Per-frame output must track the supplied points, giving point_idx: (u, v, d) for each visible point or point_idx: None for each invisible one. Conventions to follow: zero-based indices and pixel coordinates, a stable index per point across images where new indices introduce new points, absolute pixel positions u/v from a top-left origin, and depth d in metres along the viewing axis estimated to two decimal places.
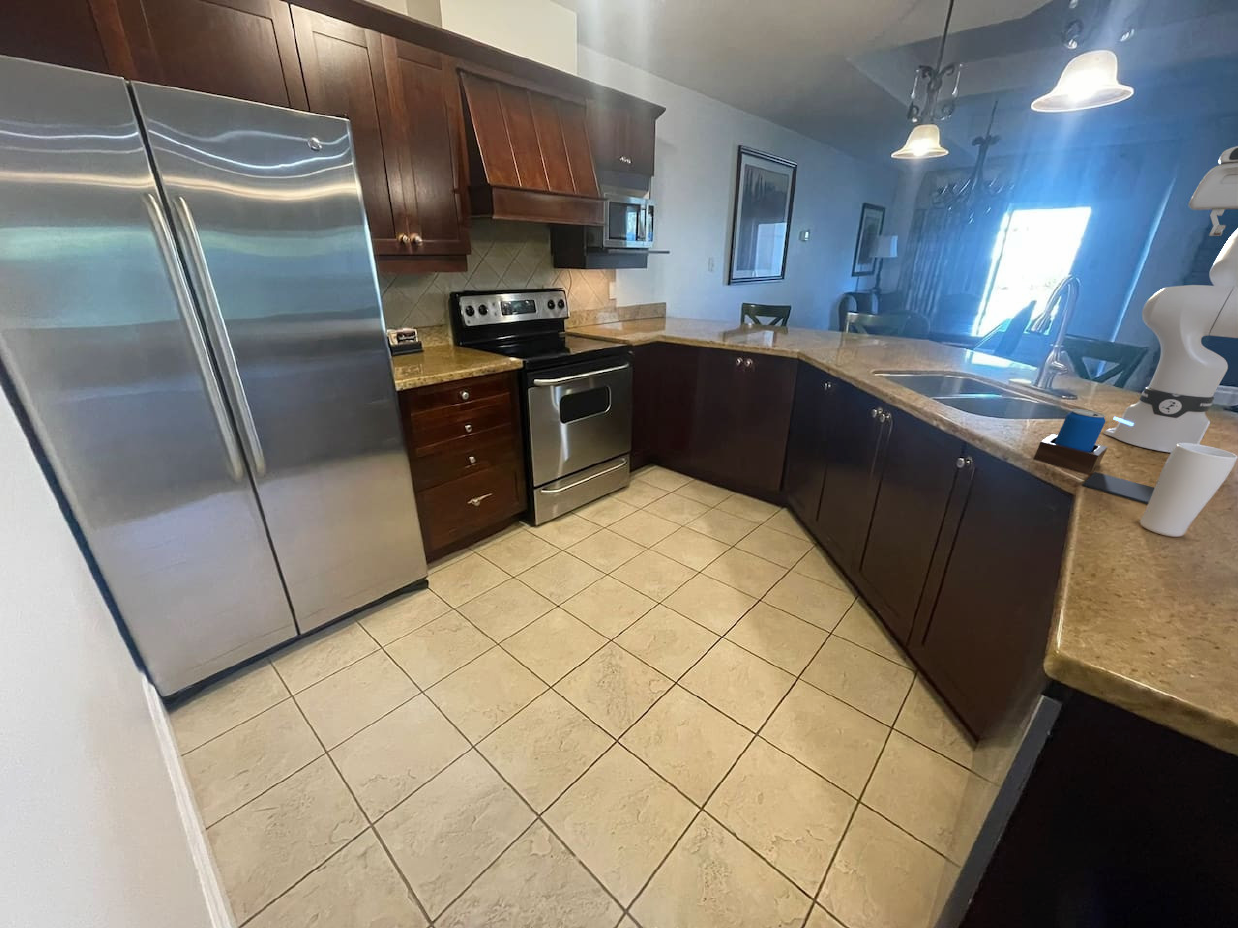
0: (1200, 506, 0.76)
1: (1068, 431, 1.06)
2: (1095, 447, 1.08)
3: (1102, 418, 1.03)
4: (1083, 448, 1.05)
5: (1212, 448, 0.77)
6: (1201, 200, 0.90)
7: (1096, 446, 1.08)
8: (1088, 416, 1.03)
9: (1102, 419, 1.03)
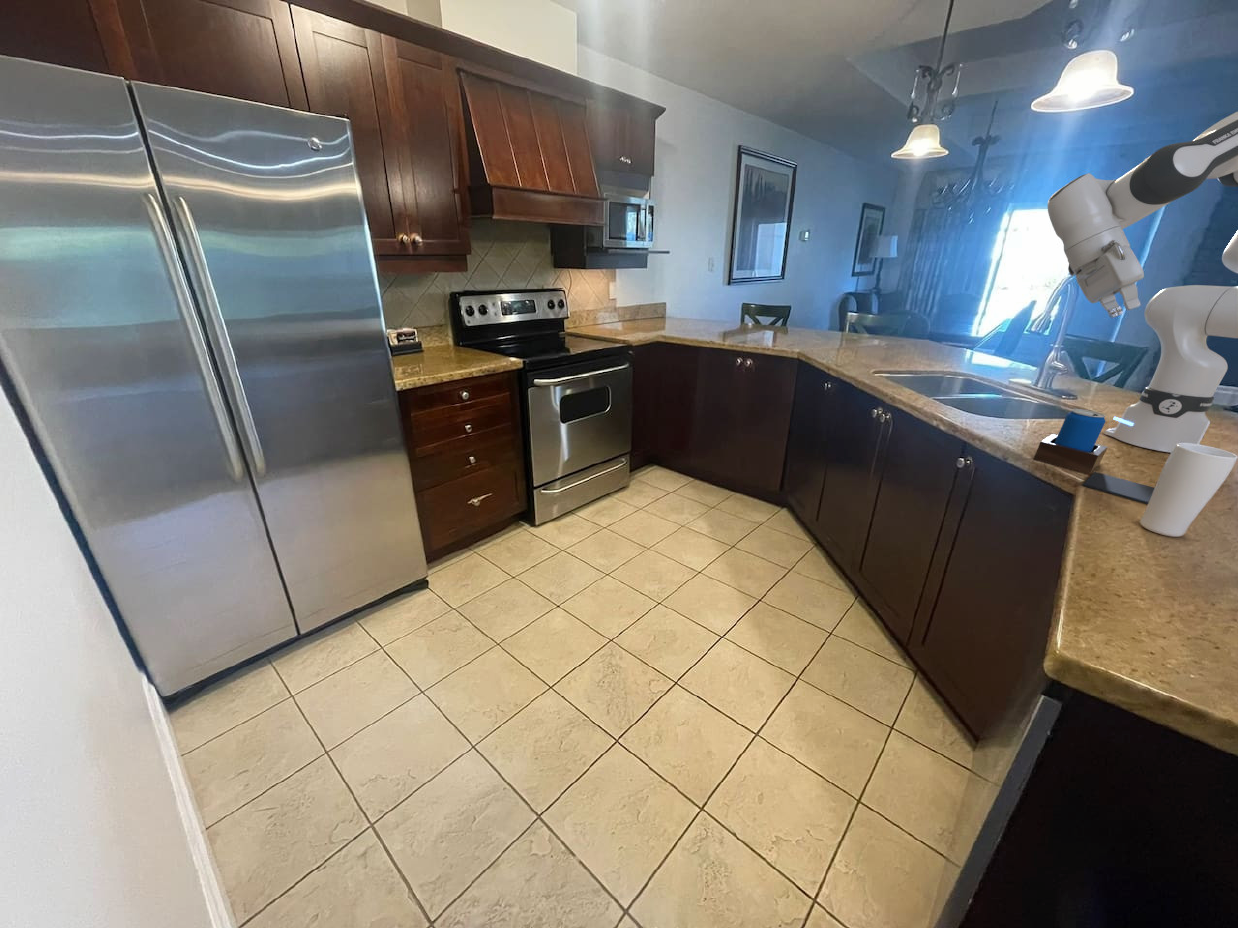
0: (1200, 506, 0.76)
1: (1068, 431, 1.06)
2: (1095, 447, 1.08)
3: (1102, 418, 1.03)
4: (1083, 448, 1.05)
5: (1212, 448, 0.77)
6: (1089, 298, 1.07)
7: (1096, 446, 1.08)
8: (1088, 416, 1.03)
9: (1102, 419, 1.03)
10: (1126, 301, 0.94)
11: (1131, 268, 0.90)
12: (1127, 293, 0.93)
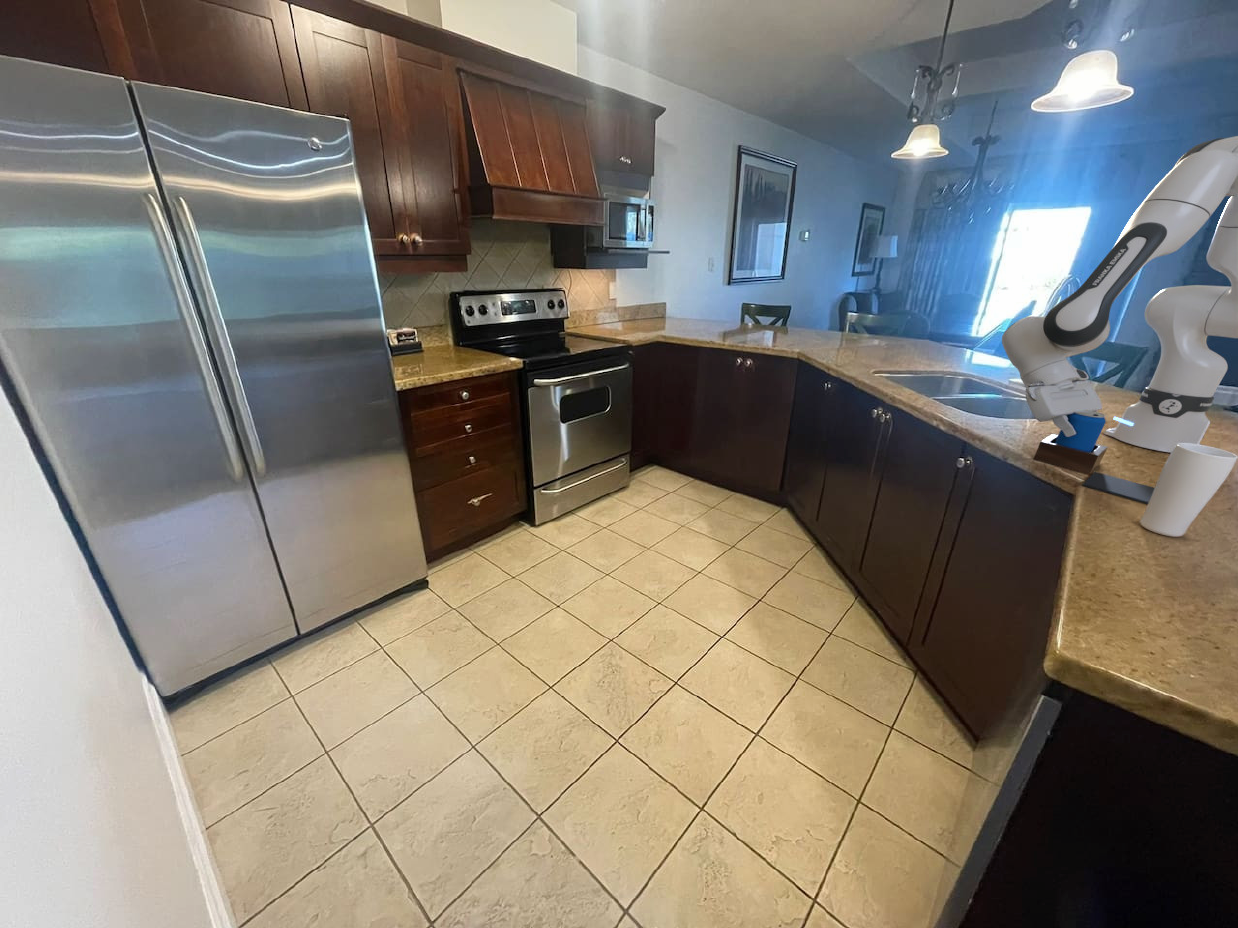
0: (1200, 506, 0.76)
1: None
2: (1095, 447, 1.08)
3: (1102, 418, 1.03)
4: (1083, 449, 1.05)
5: (1212, 448, 0.77)
6: None
7: (1096, 446, 1.08)
8: (1088, 416, 1.03)
9: (1102, 419, 1.03)
10: (1062, 430, 1.06)
11: (1041, 408, 1.05)
12: (1059, 424, 1.06)
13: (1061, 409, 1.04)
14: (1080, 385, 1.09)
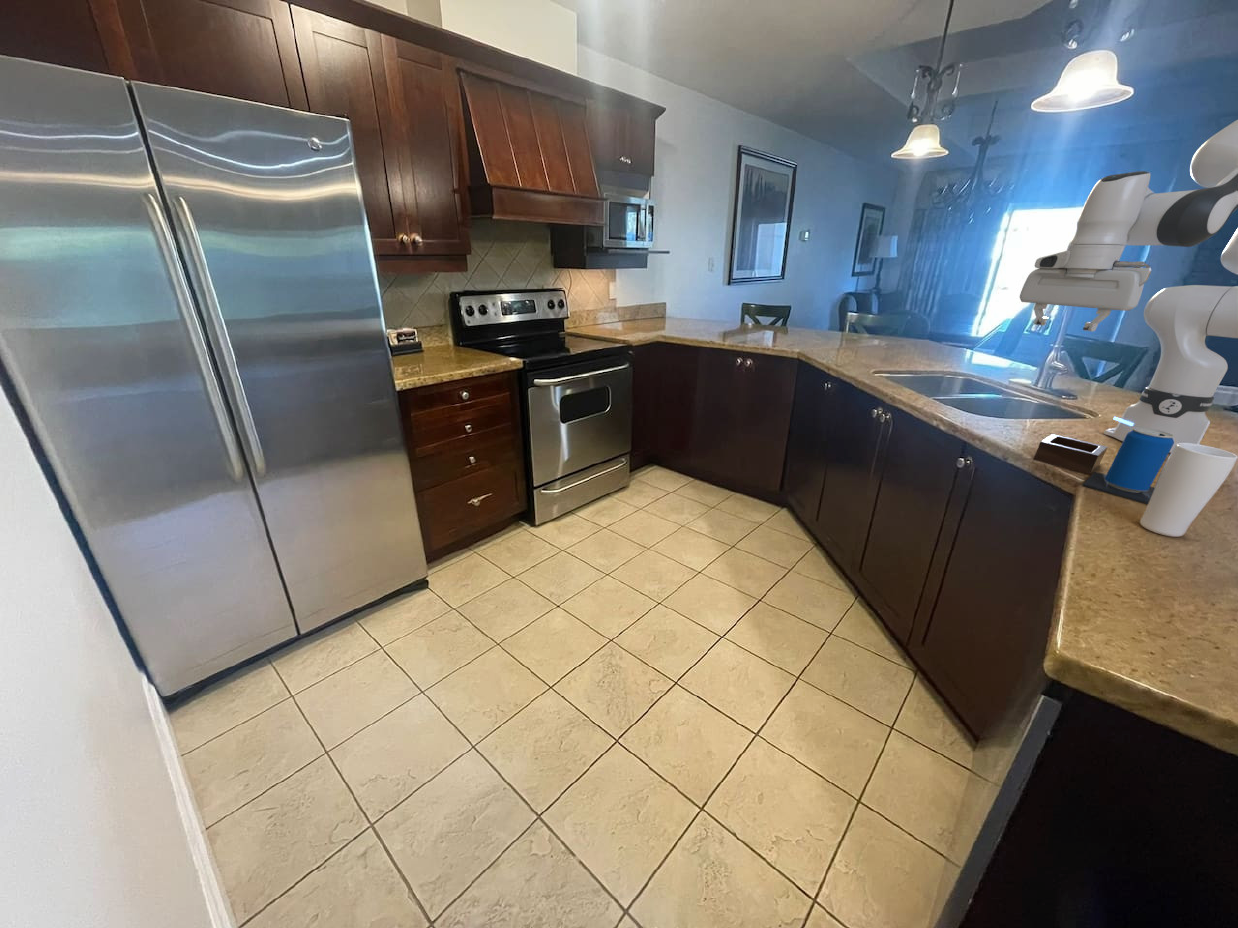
0: (1200, 506, 0.76)
1: (1129, 453, 0.93)
2: (1095, 447, 1.08)
3: (1171, 439, 0.90)
4: (1147, 473, 0.92)
5: (1212, 448, 0.77)
6: (1026, 296, 1.09)
7: (1096, 446, 1.08)
8: (1154, 436, 0.90)
9: (1171, 440, 0.90)
10: (1094, 322, 1.00)
11: (1137, 298, 0.94)
12: (1103, 316, 0.99)
13: None
14: None
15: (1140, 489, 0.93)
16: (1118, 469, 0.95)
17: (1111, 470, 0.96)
